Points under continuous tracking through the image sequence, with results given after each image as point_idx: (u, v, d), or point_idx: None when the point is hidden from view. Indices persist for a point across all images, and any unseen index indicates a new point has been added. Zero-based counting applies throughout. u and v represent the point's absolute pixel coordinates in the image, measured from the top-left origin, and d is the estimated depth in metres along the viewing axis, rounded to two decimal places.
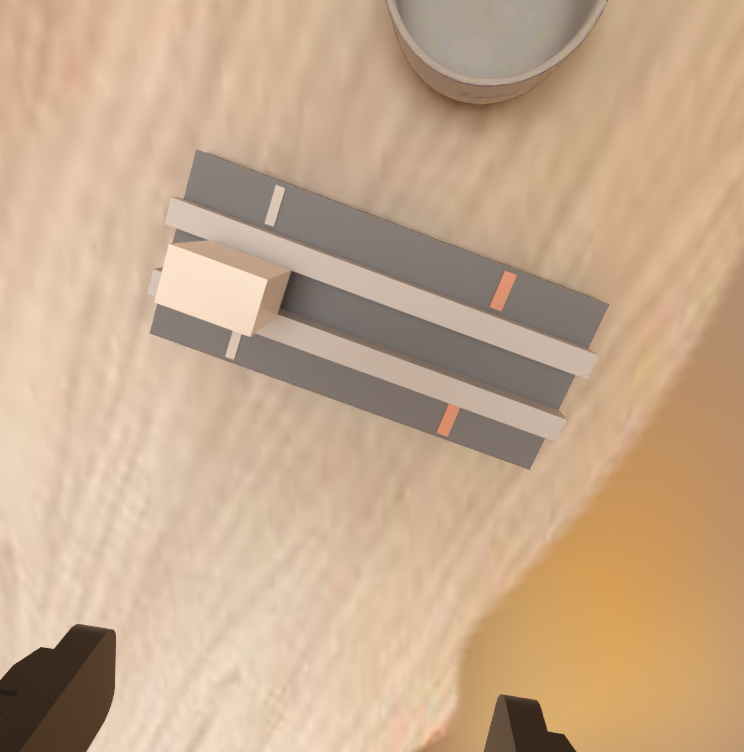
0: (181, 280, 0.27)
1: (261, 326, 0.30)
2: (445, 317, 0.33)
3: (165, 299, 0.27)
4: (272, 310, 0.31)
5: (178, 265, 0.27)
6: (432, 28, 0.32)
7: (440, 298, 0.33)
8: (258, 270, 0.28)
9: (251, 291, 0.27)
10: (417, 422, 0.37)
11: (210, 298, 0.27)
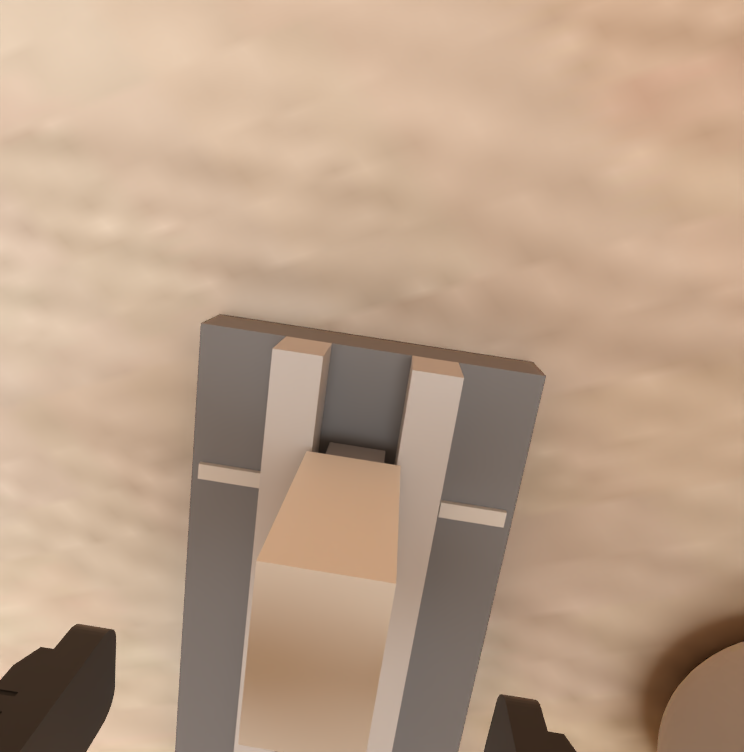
0: (320, 613, 0.12)
1: None
2: None
3: (269, 583, 0.12)
4: None
5: (351, 606, 0.12)
6: None
7: None
8: None
9: (333, 741, 0.13)
10: (186, 745, 0.24)
11: (296, 669, 0.12)
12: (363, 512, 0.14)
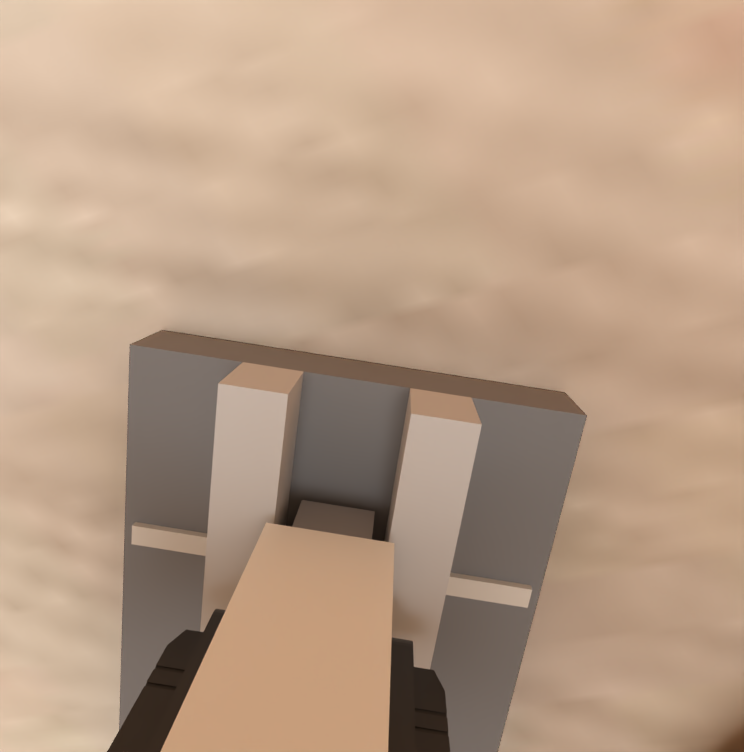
0: None
1: None
2: None
3: None
4: None
5: None
6: None
7: None
8: None
9: None
10: None
11: None
12: (339, 638, 0.10)
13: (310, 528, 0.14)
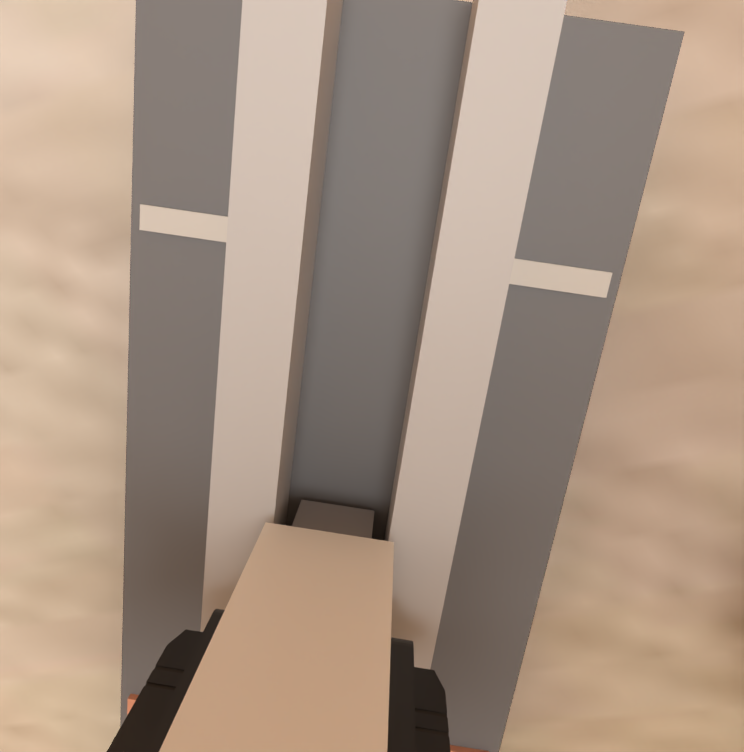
0: None
1: None
2: None
3: None
4: None
5: None
6: None
7: None
8: None
9: None
10: (136, 657, 0.17)
11: None
12: (339, 637, 0.10)
13: (310, 528, 0.14)
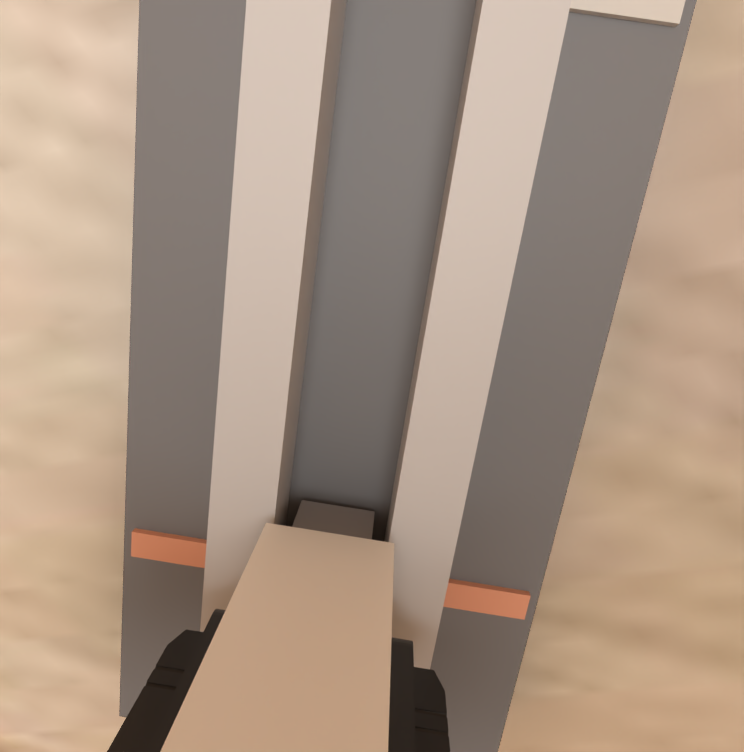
0: None
1: None
2: (414, 528, 0.13)
3: None
4: None
5: None
6: None
7: (459, 507, 0.13)
8: None
9: None
10: (142, 484, 0.16)
11: None
12: (339, 639, 0.10)
13: (310, 528, 0.14)
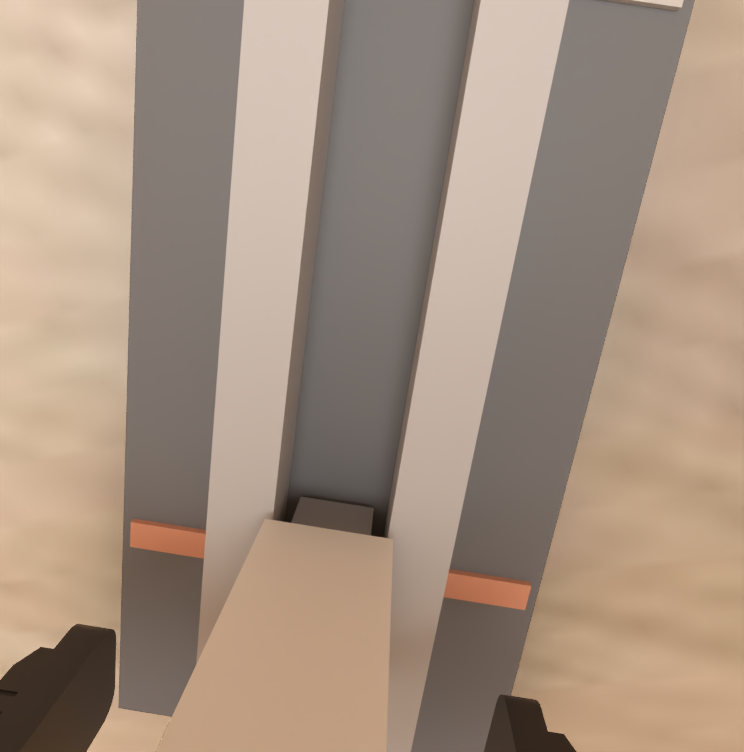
0: None
1: None
2: (415, 516, 0.13)
3: None
4: None
5: None
6: None
7: (460, 496, 0.13)
8: None
9: None
10: (141, 474, 0.16)
11: None
12: (338, 633, 0.10)
13: (309, 524, 0.14)
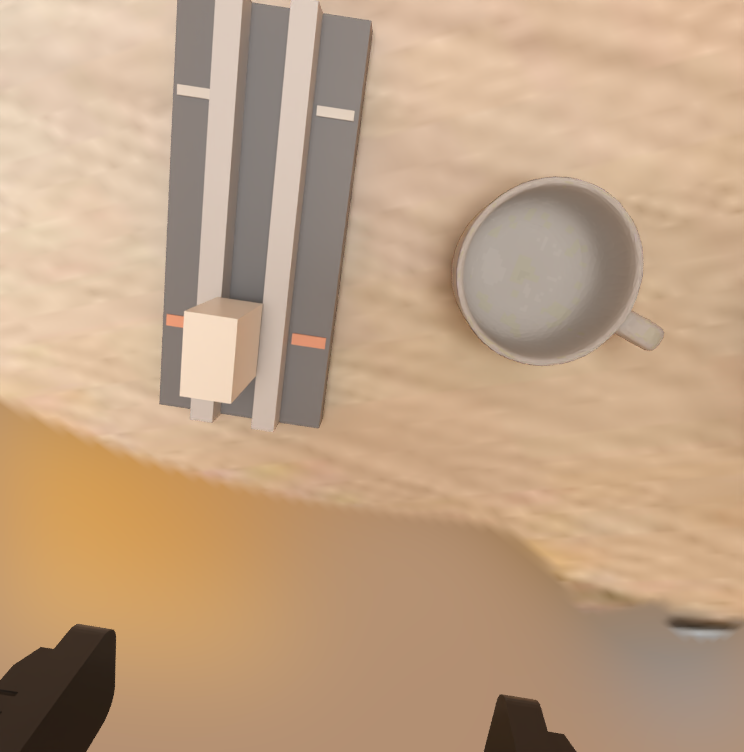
0: (209, 333, 0.31)
1: None
2: (271, 298, 0.37)
3: (189, 320, 0.31)
4: None
5: (221, 329, 0.31)
6: (506, 229, 0.38)
7: (286, 289, 0.37)
8: (239, 380, 0.34)
9: (217, 392, 0.32)
10: (170, 294, 0.39)
11: (201, 359, 0.32)
12: (235, 309, 0.33)
13: None
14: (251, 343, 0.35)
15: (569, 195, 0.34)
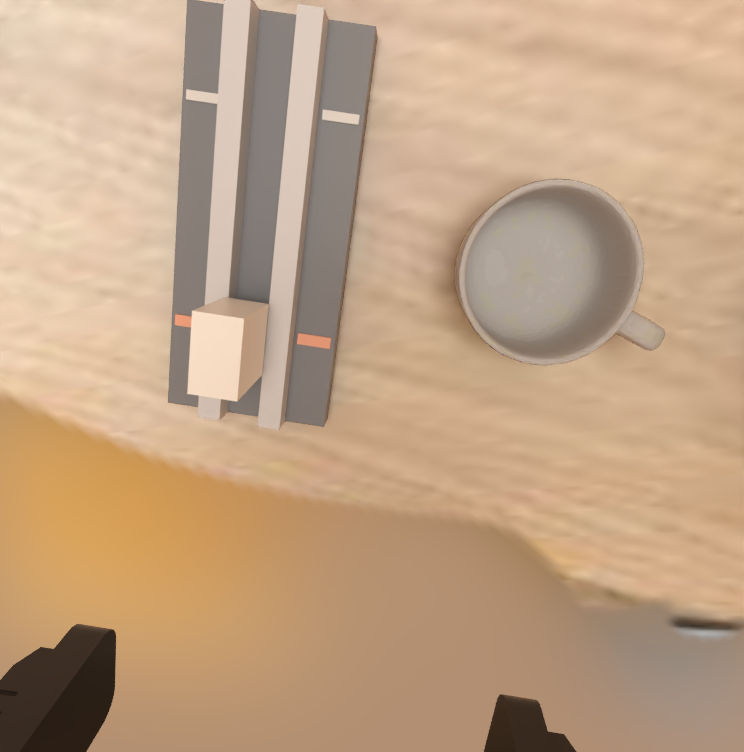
0: (216, 332, 0.32)
1: None
2: (277, 298, 0.38)
3: (197, 320, 0.32)
4: None
5: (228, 328, 0.32)
6: (509, 231, 0.39)
7: (292, 290, 0.38)
8: (246, 379, 0.34)
9: (224, 390, 0.33)
10: (179, 294, 0.40)
11: (208, 358, 0.32)
12: (241, 309, 0.34)
13: None
14: (257, 342, 0.36)
15: (570, 197, 0.34)
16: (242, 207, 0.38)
